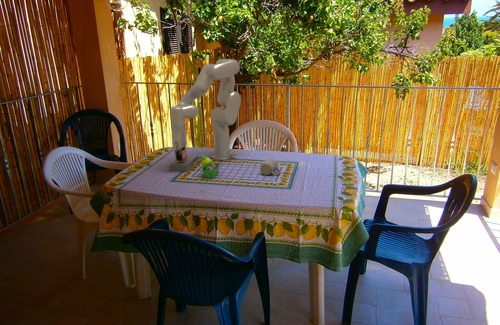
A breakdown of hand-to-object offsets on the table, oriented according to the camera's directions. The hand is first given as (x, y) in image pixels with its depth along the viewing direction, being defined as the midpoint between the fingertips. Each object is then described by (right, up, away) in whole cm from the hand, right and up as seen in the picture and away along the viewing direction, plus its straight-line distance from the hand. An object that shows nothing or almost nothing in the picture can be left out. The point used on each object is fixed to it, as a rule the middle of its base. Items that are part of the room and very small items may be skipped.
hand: (181, 158), depth 217 cm
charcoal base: (0, -6, +2) cm, 6 cm away
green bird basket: (+18, -9, -10) cm, 22 cm away
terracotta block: (0, -1, 0) cm, 1 cm away
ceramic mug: (+51, -8, -10) cm, 53 cm away
